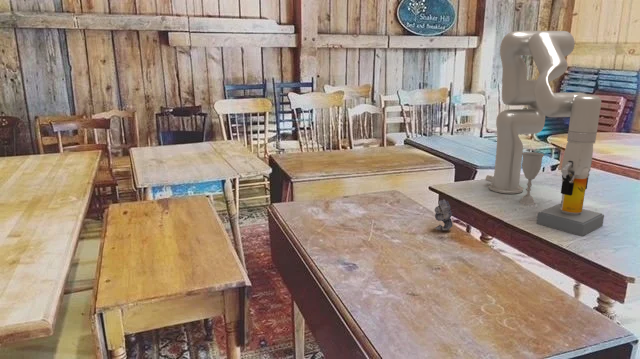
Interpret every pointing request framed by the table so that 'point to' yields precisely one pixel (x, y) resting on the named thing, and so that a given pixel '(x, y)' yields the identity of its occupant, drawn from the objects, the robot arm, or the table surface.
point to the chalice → (530, 172)
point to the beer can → (575, 195)
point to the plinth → (570, 220)
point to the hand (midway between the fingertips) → (573, 191)
